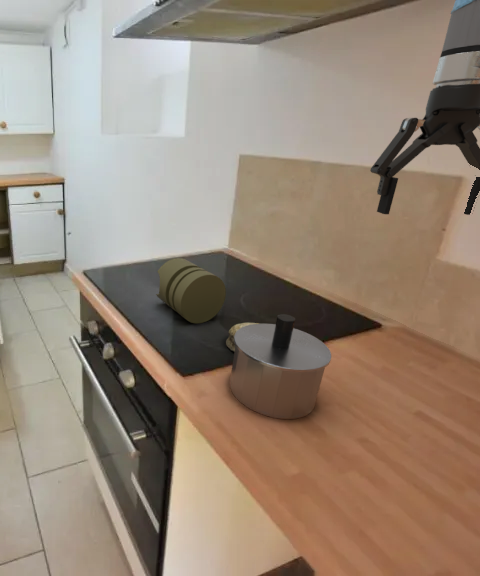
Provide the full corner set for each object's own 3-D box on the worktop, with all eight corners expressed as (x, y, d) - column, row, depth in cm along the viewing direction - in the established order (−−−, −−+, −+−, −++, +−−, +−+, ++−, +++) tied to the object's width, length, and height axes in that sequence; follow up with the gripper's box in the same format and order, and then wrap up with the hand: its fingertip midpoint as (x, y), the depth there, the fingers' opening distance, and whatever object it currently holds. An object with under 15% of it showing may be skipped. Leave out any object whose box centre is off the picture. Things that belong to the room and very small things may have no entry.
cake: (215, 348, 74) (216, 323, 73) (241, 332, 81) (243, 309, 79) (264, 366, 67) (267, 339, 65) (289, 347, 73) (293, 322, 72)
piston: (192, 298, 95) (196, 255, 91) (222, 319, 85) (229, 271, 81) (152, 305, 92) (155, 260, 88) (178, 327, 81) (183, 278, 77)
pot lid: (311, 332, 63) (318, 302, 61) (345, 380, 51) (356, 344, 49) (227, 326, 65) (231, 296, 63) (241, 371, 53) (247, 336, 51)
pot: (299, 373, 66) (309, 330, 62) (326, 423, 54) (341, 374, 51) (225, 367, 68) (231, 324, 64) (236, 414, 56) (245, 365, 53)
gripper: (390, 85, 61) (359, 216, 69) (572, 78, 57) (517, 217, 65) (367, 90, 68) (341, 209, 76) (527, 84, 64) (483, 209, 72)
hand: (422, 213), depth 71 cm, fingers open, 13 cm apart
